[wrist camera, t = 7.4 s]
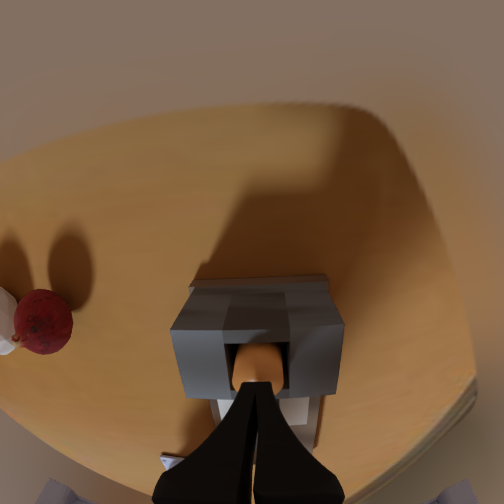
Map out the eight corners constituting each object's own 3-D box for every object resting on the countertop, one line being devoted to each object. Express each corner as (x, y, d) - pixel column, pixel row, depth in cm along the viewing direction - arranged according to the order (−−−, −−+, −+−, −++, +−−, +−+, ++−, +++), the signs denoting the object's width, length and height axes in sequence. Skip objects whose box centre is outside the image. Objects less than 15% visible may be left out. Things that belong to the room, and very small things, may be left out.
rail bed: (309, 452, 27) (315, 502, 19) (226, 454, 27) (219, 504, 20) (325, 273, 21) (353, 322, 13) (193, 279, 21) (161, 329, 14)
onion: (69, 269, 22) (11, 303, 14) (97, 324, 23) (51, 371, 15) (37, 286, 22) (-14, 319, 15) (63, 335, 24) (20, 376, 16)
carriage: (304, 405, 22) (311, 460, 16) (225, 407, 23) (216, 462, 16) (307, 353, 21) (319, 411, 14) (217, 356, 21) (202, 414, 15)
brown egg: (280, 358, 17) (283, 398, 13) (240, 359, 17) (234, 399, 14) (280, 323, 16) (283, 361, 13) (236, 325, 17) (229, 363, 13)
